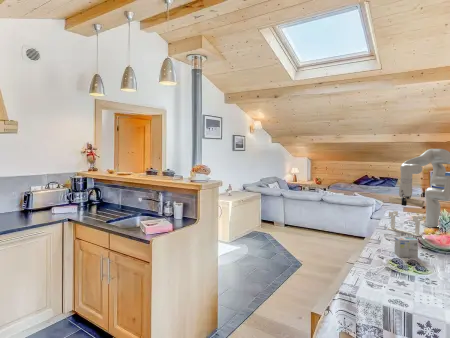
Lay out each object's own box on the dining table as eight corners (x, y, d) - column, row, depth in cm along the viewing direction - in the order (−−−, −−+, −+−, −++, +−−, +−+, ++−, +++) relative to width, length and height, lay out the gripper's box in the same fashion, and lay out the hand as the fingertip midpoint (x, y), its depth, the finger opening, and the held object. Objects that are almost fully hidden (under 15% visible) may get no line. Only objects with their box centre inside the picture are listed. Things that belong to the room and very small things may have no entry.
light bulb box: (412, 253, 178) (412, 236, 177) (418, 257, 171) (419, 240, 170) (393, 253, 179) (394, 236, 178) (399, 257, 172) (399, 239, 171)
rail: (391, 201, 232) (391, 196, 232) (424, 206, 211) (424, 200, 211) (388, 201, 230) (388, 196, 230) (421, 207, 209) (421, 201, 209)
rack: (392, 228, 234) (392, 210, 233) (423, 235, 214) (424, 216, 213) (386, 229, 230) (387, 211, 229) (418, 237, 210) (418, 217, 209)
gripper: (407, 179, 227) (406, 203, 228) (394, 181, 219) (394, 205, 220) (417, 180, 220) (417, 204, 222) (405, 182, 212) (404, 207, 214)
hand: (405, 204), depth 221 cm, fingers closed on rail, 4 cm apart
